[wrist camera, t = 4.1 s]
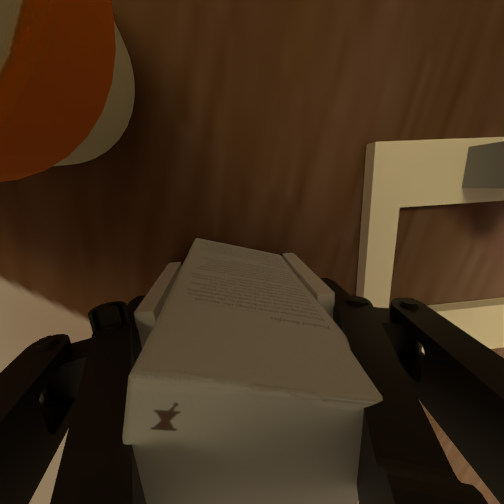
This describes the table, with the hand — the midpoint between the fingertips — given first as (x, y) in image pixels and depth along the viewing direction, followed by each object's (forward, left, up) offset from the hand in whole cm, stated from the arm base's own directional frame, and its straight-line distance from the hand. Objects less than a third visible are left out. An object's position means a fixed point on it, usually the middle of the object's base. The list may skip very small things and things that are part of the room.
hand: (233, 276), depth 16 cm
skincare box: (0, 0, -1) cm, 1 cm away
